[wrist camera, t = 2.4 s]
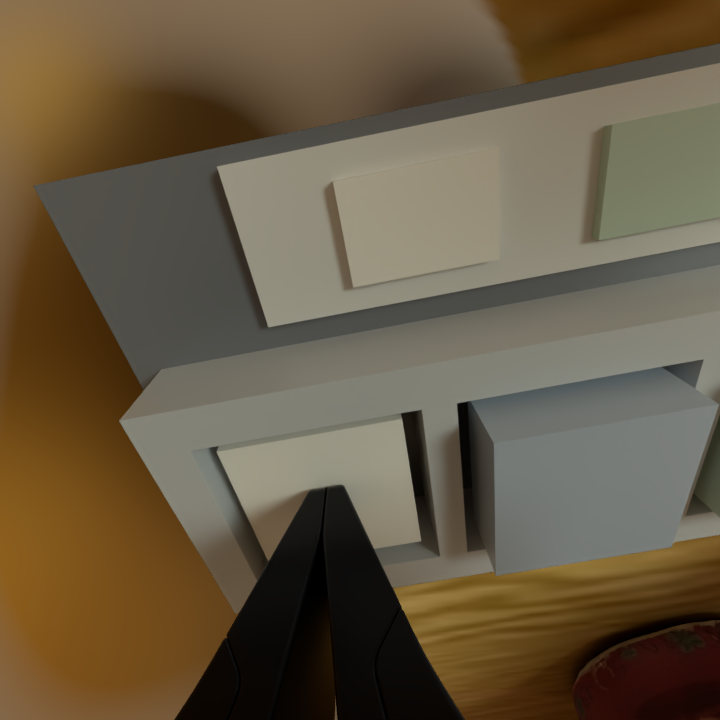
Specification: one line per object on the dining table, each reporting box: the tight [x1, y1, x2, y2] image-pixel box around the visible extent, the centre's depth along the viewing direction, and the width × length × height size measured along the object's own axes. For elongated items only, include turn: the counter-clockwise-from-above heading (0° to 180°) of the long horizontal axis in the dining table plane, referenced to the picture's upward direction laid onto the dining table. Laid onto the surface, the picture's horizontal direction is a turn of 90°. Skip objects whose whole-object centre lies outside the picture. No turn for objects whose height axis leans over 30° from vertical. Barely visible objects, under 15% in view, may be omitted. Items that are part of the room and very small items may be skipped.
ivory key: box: [217, 413, 421, 561], centre depth 10 cm, size 4×4×2 cm
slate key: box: [468, 367, 719, 576], centre depth 8 cm, size 4×4×2 cm
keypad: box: [34, 43, 720, 613], centre depth 9 cm, size 19×11×3 cm, turn 100°
